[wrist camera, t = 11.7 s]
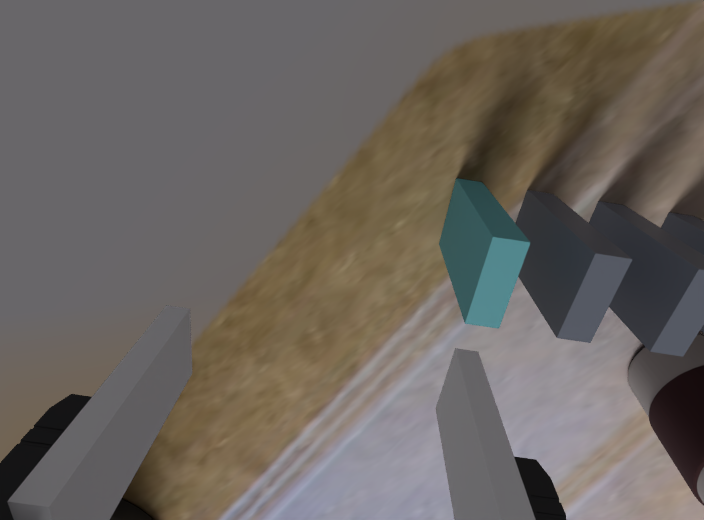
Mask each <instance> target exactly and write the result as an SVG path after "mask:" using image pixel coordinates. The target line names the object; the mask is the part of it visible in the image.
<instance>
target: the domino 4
mask: <svg viewBox="0 0 704 520" xmlns="http://www.w3.org/2000/svg"><path fill="white" fill-rule="evenodd" d="M661 229H663V230H664V231H666V232H668V233H669V234H671V235H672V236H674V237H676V238H677V239H679V240H680V241H682V242H684V243H685V244H687V245H688V246H690V247H692V248H693V249H695V250H696V251H698V252H700V253H701V254H703V255H704V221H702V220H701V219H699V218H697V217H695V216H689V215H683V214H677V213H670V212H669V214H668V216H667V217H666V219H665V221H664V223H663V225H662V227H661ZM701 331H702V332H703V333H704V325H703V326H702V328H701Z"/></svg>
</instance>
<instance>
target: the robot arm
mask: <svg viewBox="0 0 704 520" xmlns="http://www.w3.org/2000/svg"><path fill="white" fill-rule="evenodd" d="M191 374H192V351H191V321H190V309H188V308H182V307H175V306H169V305H166V307H165V308H164V309H163V310H162V312H161V313H160V314H159V315H158V316H157V318H156V319H155V320H154V321H153V323H152V324H151V325H150V326H149V328H148V329H147V330H146V331H145V333H144V334H143V335H142V336H141V337H140V339H139V340H138V341H137V342H136V343H135V345H134V346H133V347H132V348H131V350H130V351H129V352H128V353H127V355H126V356H125V357H124V358H123V359H122V361H121V362H120V363H119V364H118V366H117V367H116V368H115V369H114V371H113V372H112V373H111V374H110V375H109V377H108V378H107V379H106V380H105V382H104V383H103V384H102V385H101V387H100V388H99V389H98V390H97V392H96V393H95V394H94V395H93V396H92V397H89V396H82V395H75V394H71V395H69V396H68V397H66V398H65V399H63V400H61V401H60V402H58V403H57V404H55V405H54V406H52V407H51V408H49V410H48V411H47V412H46V413H45V414H44V415H43V416H42V417H41V418H40V419H39V421H38V422H37V423H36V424H35V425H34V428H33V429H30V431H29V432H28V433H27V434H26V435H25V436H24V437H23V438H22V439H21V442H20V444H17V445H16V446H15V447H14V448H13V449H12V450H11V451H10V453H9V454H8V455H7V456H6V457H5V458H4V459H3V460H2V461H1V463H0V520H152V519H151V518H150V517H149V516H148V515H147V514H146V513H145V512H143V511H142V510H140V509H139V508H137V507H136V506H134V505H132V504H130V503H128V502H126V501H124V500H122V497H123V495H124V493H125V492H126V490H127V488H128V486H129V484H130V483H131V481H132V479H133V477H134V476H135V474H136V472H137V470H138V468H139V467H140V465H141V463H142V461H143V460H144V458H145V456H146V454H147V452H148V451H149V449H150V447H151V445H152V444H153V442H154V440H155V438H156V436H157V435H158V433H159V431H160V429H161V428H162V426H163V424H164V422H165V420H166V419H167V417H168V415H169V413H170V412H171V410H172V408H173V406H174V405H175V403H176V401H177V399H178V397H179V396H180V394H181V392H182V390H183V389H184V387H185V385H186V383H187V381H188V380H189V378H190V376H191ZM436 413H437V419H438V425H439V431H440V437H441V443H442V449H443V454H444V460H445V466H446V472H447V478H448V484H449V490H450V496H451V501H452V507H453V513H454V519H455V520H566V514H565V512H564V509H563V507H562V505H561V503H559V497H558V495H557V492H556V490H555V488H554V485H553V483H552V480H551V478H550V477H549V476H548V474H547V473H546V472H545V471H544V469H543V468H542V467H541V465H540V464H539V463H538V462H537V460H534V459H527V458H520V457H514V455H513V452H512V449H511V446H510V444H509V441H508V438H507V435H506V432H505V429H504V426H503V423H502V420H501V417H500V414H499V411H498V409H497V406H496V403H495V400H494V397H493V394H492V391H491V388H490V385H489V382H488V379H487V376H486V373H485V371H484V368H483V365H482V362H481V359H480V356H479V353H478V352H476V351H469V350H463V349H456V348H455V351H454V354H453V357H452V360H451V363H450V366H449V369H448V372H447V375H446V379H445V382H444V385H443V388H442V391H441V394H440V397H439V400H438V403H437V406H436Z"/></svg>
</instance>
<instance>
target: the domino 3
mask: <svg viewBox="0 0 704 520" xmlns="http://www.w3.org/2000/svg"><path fill="white" fill-rule="evenodd" d="M589 224H590V225H592V226H593V227H594V228H595V229H596V230H598V231H599V232H600V233H601V234H603V235H604V236H605V237H606V238H607V239H609V240H610V241H611V242H612V243H614V244H615V245H616V246H617V247H618V248H620V249H621V250H622V251H623V252H625V253H626V254H627V255H628V256H629V257H631V258H632V259H633V260H632V262H631V264H630V266H629V268H628V269H627V271H626V273H625V275H624V277H623V279H622V281H621V283H620V285H619V287H618V289H617V291H616V293H615V295H614V297H613V299H612V301H611V303H610V305H609V307H610V308H611V309H612V311H613V312H614V313H615V314H616V315H617V316H618V317H619V318H620V319H621V320H622V322H623V323H624V324H625V325H626V326H627V327H628V328H629V329H630V330H631V331H632V333H633V334H634V335H635V336H636V337H637V338H638V339H639V340H640V341H641V342H642V343H643V345H644V346H645V347H646V348H647V349H648V350H649V351H650V352H655V353H662V354H669V355H675V356H682V357H683V356H684V354H685V353H686V351H687V350H688V348H689V347H690V345H691V344H692V342H693V340H694V339H695V337H696V336H697V334H698V333H699V331H700V330H701V328H702V326H703V325H704V255H703V254H701V253H700V252H698V251H696V250H695V249H693V248H692V247H690V246H688V245H687V244H685V243H684V242H682V241H680V240H679V239H677V238H676V237H674V236H672V235H671V234H669V233H668V232H666V231H664V230H663V229H661V228H660V227H658V226H656V225H655V224H653V223H652V222H650V221H648V220H647V219H645V218H644V217H642V216H640V215H639V214H637V213H636V212H634V211H633V210H631V209H629V208H628V207H626V206H625V205H620V204H613V203H607V202H601V201H598V203H597V206H596V208H595V210H594V213H593V215H592V217H591V220H590V222H589Z"/></svg>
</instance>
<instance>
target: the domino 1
mask: <svg viewBox="0 0 704 520" xmlns="http://www.w3.org/2000/svg"><path fill="white" fill-rule="evenodd" d="M530 243H531V242H530V241H529V240H528V239H527V237H526V236H525V235H524V234H523V232H522V231H521V230H520V229H519V227H518V226H517V225H516V224H515V222H514V221H513V220H512V219H511V217H510V216H509V215H508V214H507V212H506V211H505V210H504V209H503V207H502V206H501V205H500V204H499V202H498V201H497V200H496V199H495V197H494V196H493V195H492V194H491V193H490V191H489V190H488V189H487V188H486V186H485V185H484V184H483V183H482V182H478V181H471V180H465V179H458V178H456V181H455V185H454V189H453V193H452V197H451V200H450V204H449V208H448V212H447V216H446V220H445V223H444V227H443V231H442V235H441V239H440V243H439V245H440V248H441V251H442V254H443V258H444V261H445V264H446V267H447V270H448V273H449V276H450V279H451V282H452V285H453V288H454V291H455V294H456V297H457V300H458V303H459V307H460V310H461V313H462V316H463V319H464V322H465V324H472V325H479V326H485V327H492V328H499V327H500V324H501V321H502V319H503V316H504V313H505V310H506V308H507V305H508V302H509V300H510V297H511V294H512V292H513V289H514V286H515V283H516V281H517V278H518V275H519V273H520V270H521V267H522V264H523V262H524V259H525V256H526V254H527V251H528V248H529V246H530Z"/></svg>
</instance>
